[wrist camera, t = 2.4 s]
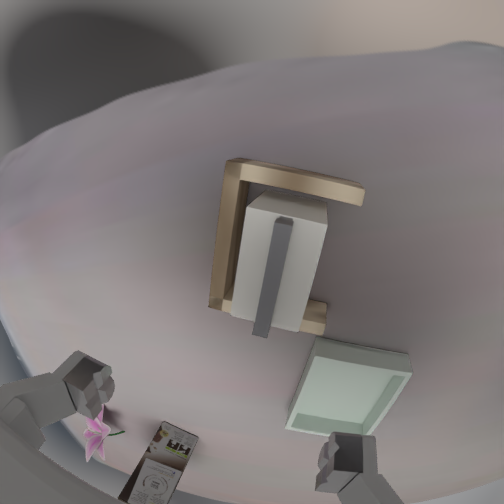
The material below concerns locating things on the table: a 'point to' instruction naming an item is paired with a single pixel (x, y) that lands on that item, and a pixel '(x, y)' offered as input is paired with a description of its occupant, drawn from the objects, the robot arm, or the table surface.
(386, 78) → the table surface
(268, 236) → the white block
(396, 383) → the tray
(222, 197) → the bay
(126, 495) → the coffee box
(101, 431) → the lily
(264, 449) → the table surface
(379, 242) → the table surface
